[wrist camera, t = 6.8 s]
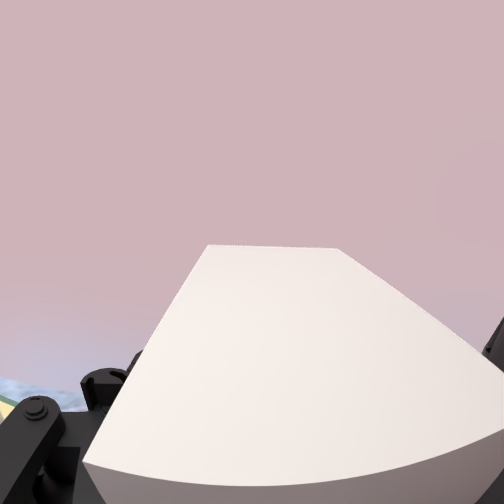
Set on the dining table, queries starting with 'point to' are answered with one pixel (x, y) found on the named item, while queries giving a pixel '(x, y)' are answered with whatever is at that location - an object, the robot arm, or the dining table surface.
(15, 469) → the robot arm
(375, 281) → the block
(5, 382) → the dining table surface
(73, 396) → the dining table surface
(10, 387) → the dining table surface
